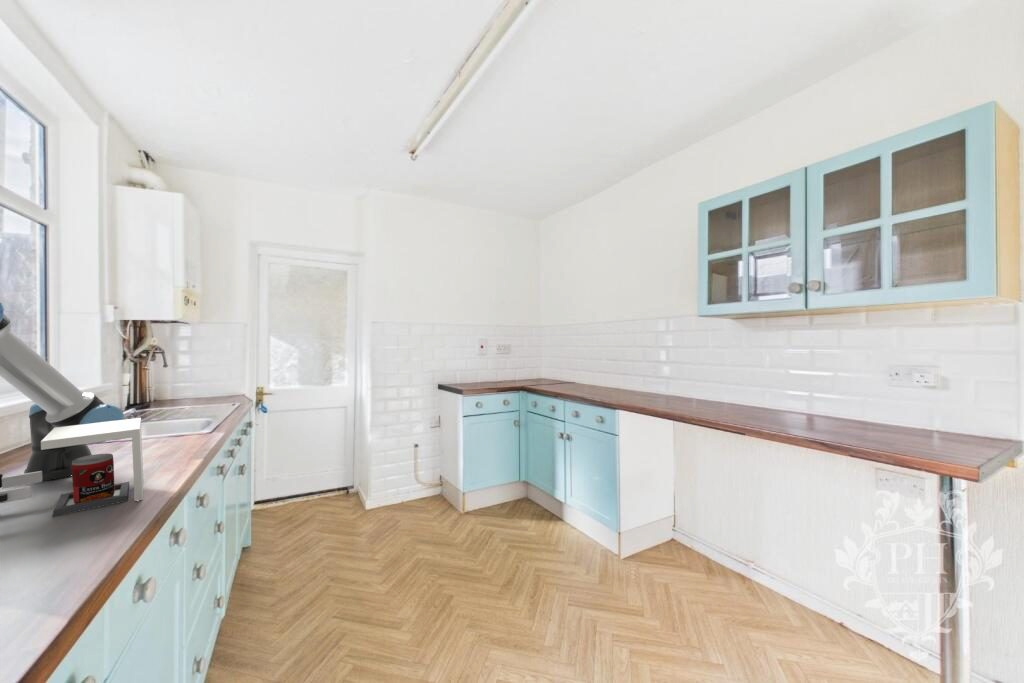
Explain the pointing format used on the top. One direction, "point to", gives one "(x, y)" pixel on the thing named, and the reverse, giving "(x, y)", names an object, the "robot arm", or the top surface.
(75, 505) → the grey picture frame
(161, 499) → the top surface
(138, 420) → the shelf
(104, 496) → the canned food
